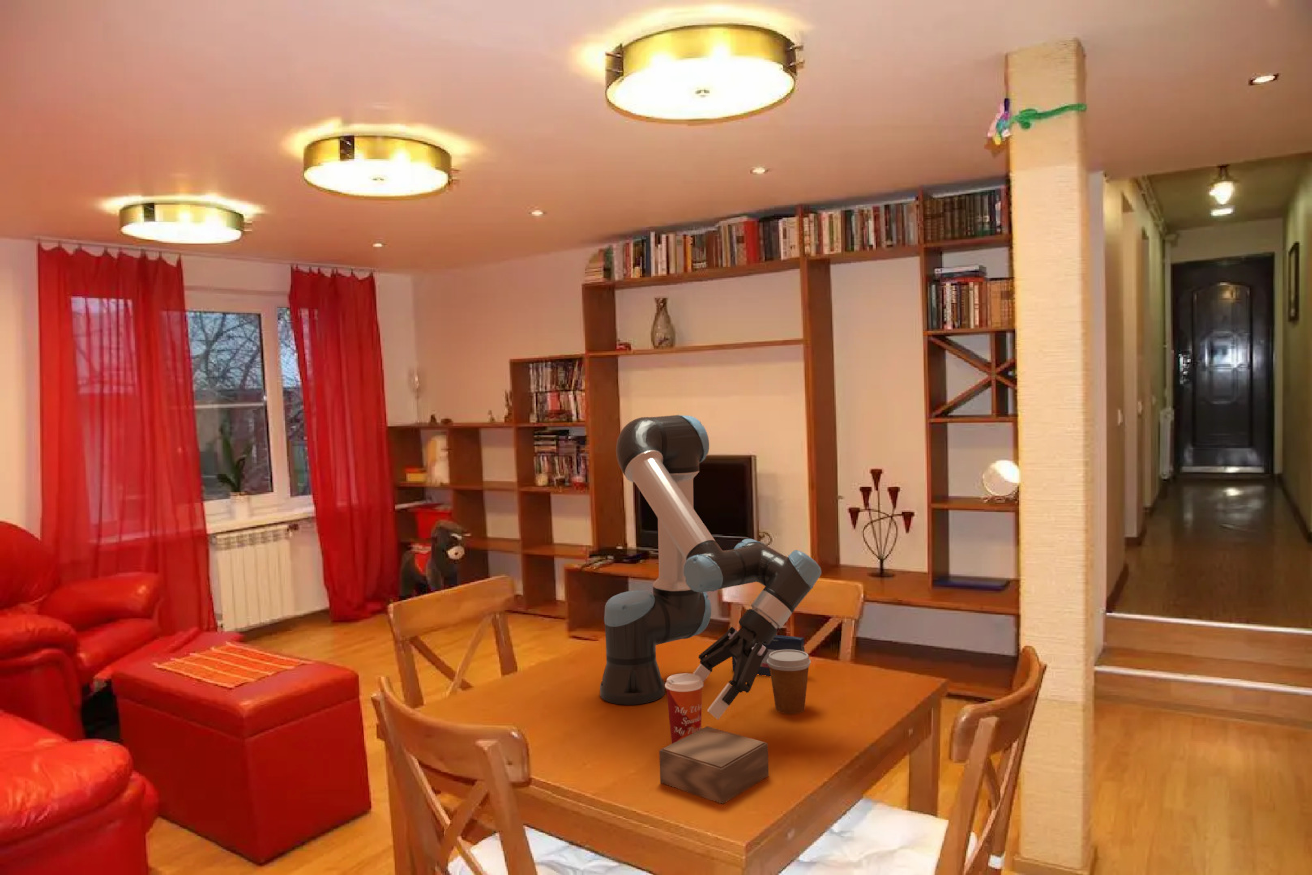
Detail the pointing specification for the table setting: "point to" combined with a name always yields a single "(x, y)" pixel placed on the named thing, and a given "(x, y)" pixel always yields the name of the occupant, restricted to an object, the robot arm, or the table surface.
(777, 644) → the vhs cassette tape
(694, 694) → the paper cup
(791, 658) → the disposable coffee cup
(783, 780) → the table surface
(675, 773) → the walnut box
